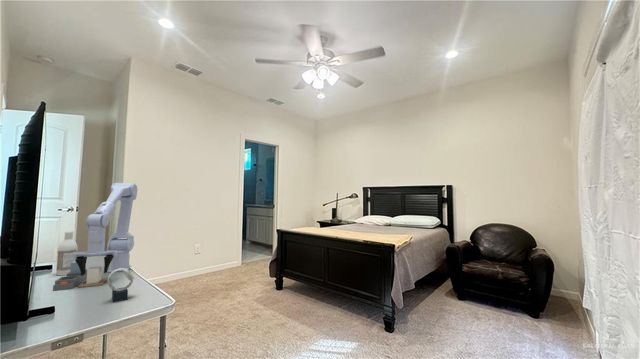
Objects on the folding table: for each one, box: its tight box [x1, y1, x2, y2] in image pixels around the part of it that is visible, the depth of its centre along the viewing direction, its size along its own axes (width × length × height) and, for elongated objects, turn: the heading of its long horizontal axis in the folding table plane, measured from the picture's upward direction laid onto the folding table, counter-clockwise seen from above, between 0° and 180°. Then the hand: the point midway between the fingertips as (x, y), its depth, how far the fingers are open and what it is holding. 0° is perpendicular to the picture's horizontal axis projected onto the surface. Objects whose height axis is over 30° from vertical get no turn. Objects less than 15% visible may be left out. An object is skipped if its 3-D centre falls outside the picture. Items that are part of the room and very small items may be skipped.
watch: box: [106, 268, 135, 304], centre depth 99 cm, size 6×8×11 cm
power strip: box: [52, 268, 88, 292], centre depth 117 cm, size 24×6×4 cm, turn 24°
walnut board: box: [77, 277, 108, 289], centre depth 114 cm, size 9×8×1 cm
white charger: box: [85, 265, 103, 284], centre depth 114 cm, size 4×4×6 cm
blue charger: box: [70, 261, 81, 273], centre depth 119 cm, size 4×4×6 cm
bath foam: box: [55, 230, 79, 277], centre depth 127 cm, size 7×7×20 cm
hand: (94, 273), depth 115 cm, fingers open, 7 cm apart
